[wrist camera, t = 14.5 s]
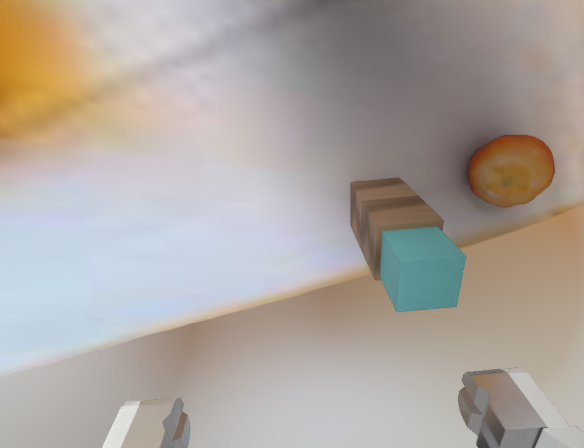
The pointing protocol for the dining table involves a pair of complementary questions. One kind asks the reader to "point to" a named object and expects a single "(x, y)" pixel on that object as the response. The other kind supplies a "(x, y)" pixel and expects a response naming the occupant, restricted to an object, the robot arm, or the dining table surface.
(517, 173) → the fruit
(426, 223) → the tower top
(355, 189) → the block
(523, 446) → the robot arm
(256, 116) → the dining table surface
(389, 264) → the teal block
